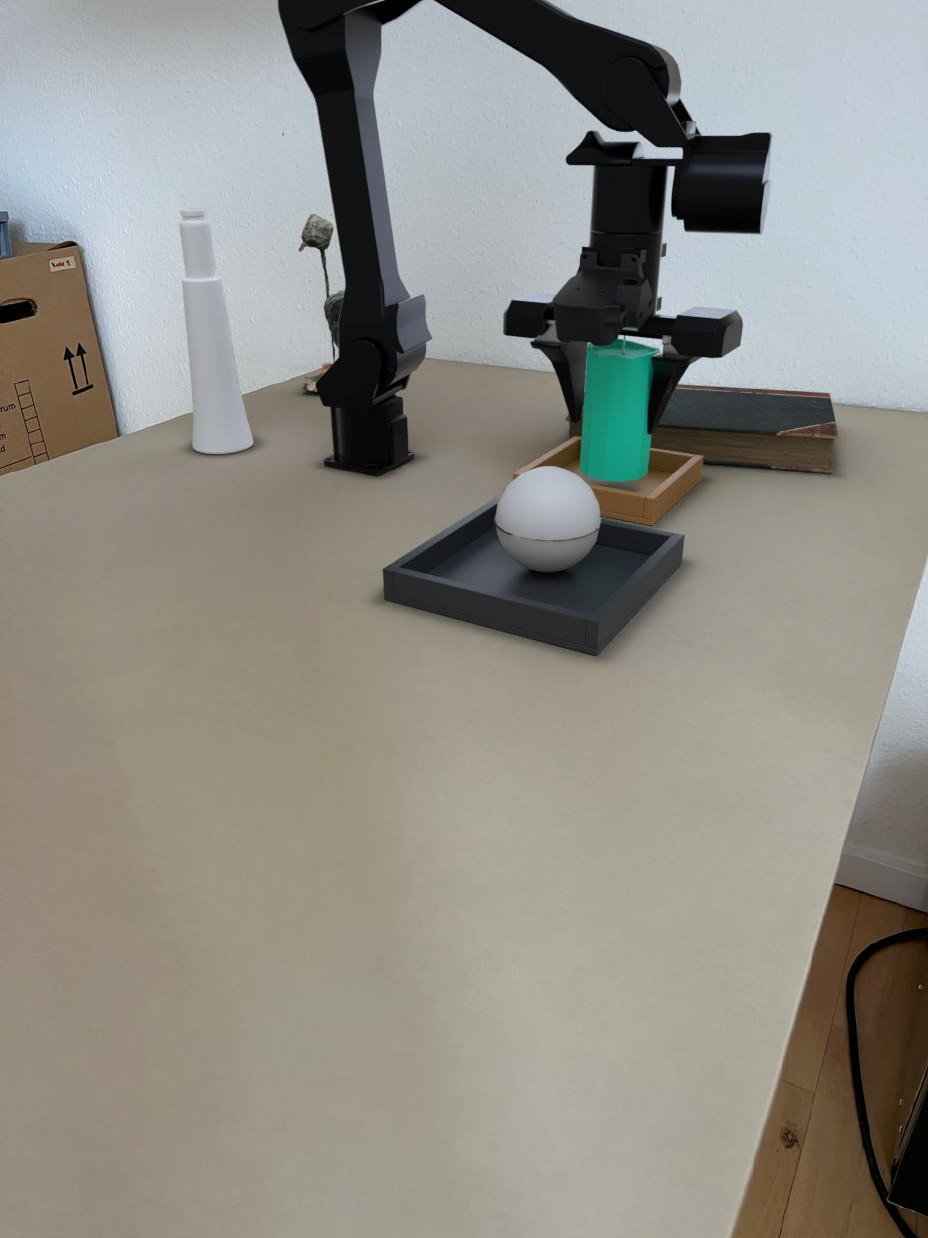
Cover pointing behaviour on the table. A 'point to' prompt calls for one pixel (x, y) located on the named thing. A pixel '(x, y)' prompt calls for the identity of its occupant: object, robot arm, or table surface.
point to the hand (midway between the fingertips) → (611, 427)
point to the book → (746, 427)
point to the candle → (617, 411)
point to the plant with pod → (320, 237)
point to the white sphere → (548, 519)
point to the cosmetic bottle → (210, 346)
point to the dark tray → (535, 581)
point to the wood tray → (632, 482)
